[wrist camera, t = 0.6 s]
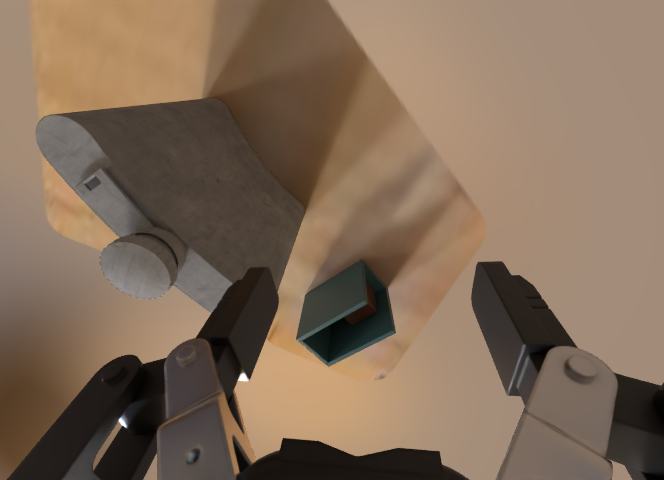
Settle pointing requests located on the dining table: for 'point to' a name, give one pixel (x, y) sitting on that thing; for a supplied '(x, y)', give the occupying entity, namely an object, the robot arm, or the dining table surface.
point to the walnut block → (364, 308)
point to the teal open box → (334, 304)
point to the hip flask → (175, 196)
